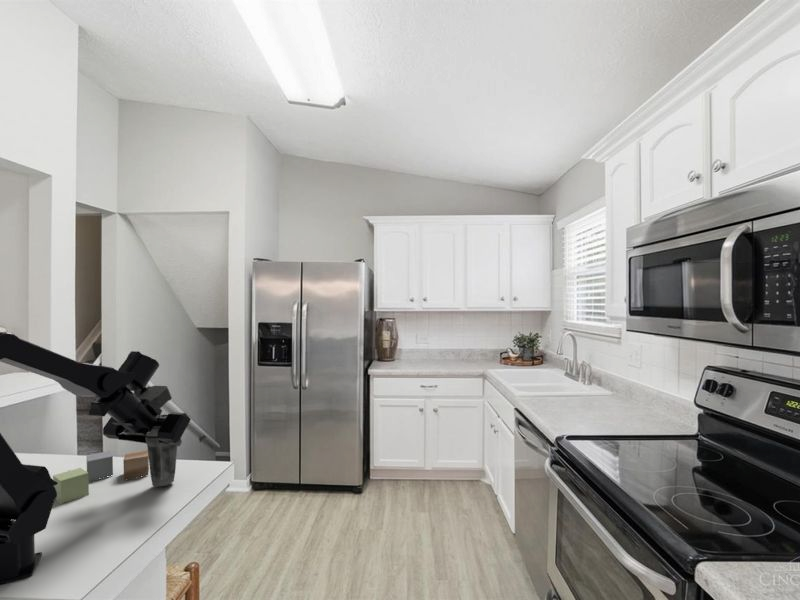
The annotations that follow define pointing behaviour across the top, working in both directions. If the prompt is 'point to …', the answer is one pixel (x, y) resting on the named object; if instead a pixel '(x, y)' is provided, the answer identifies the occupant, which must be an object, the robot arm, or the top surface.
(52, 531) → the top surface
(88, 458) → the charcoal block
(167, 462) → the beverage cup
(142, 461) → the walnut block
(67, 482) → the olive block
